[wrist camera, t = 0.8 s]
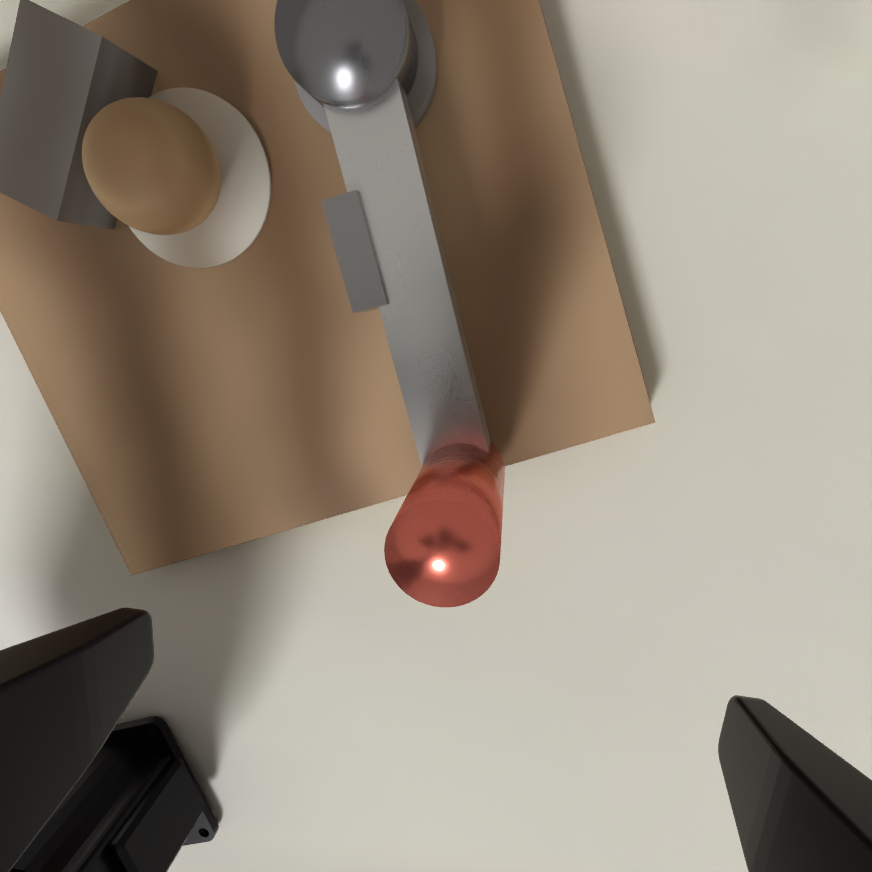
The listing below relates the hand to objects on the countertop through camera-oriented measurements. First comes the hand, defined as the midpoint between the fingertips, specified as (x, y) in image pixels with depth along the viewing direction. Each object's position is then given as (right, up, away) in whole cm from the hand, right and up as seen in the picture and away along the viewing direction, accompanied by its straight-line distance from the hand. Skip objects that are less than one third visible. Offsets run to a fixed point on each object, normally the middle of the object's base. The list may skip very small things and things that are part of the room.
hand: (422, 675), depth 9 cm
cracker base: (-5, +9, +11) cm, 15 cm away
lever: (0, +8, +8) cm, 12 cm away
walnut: (-8, +11, +7) cm, 15 cm away
